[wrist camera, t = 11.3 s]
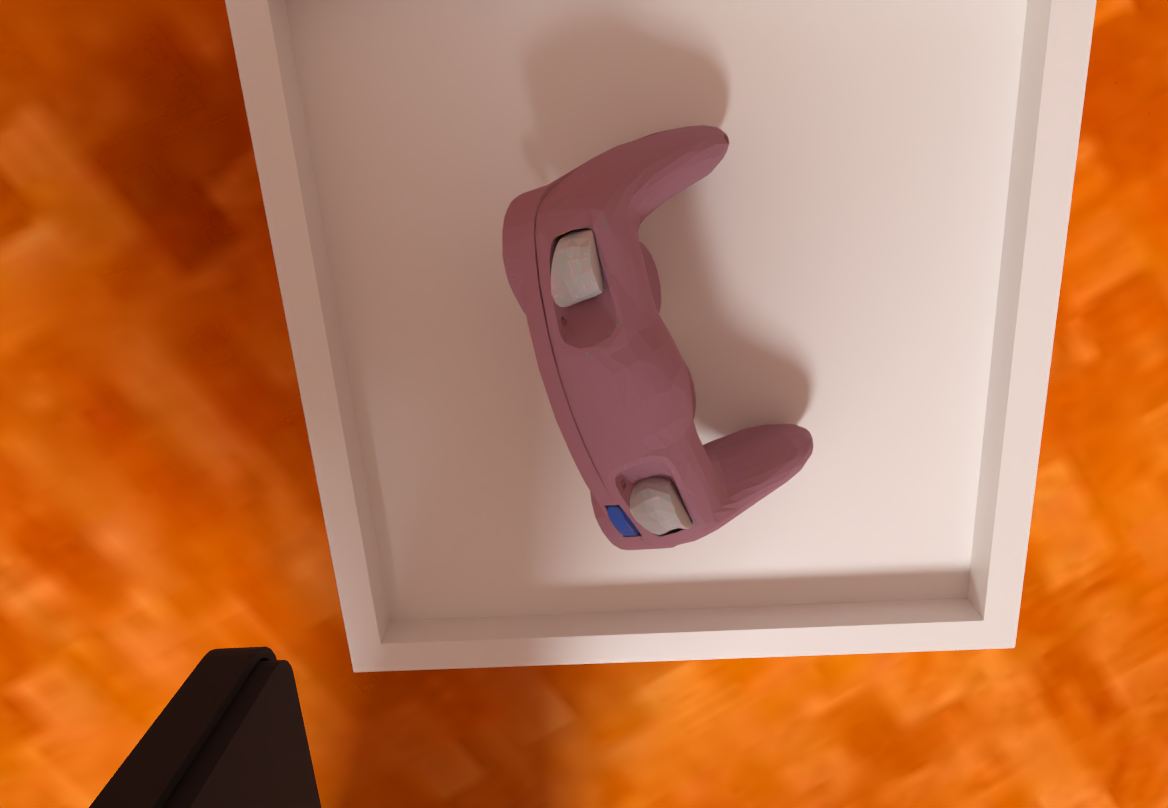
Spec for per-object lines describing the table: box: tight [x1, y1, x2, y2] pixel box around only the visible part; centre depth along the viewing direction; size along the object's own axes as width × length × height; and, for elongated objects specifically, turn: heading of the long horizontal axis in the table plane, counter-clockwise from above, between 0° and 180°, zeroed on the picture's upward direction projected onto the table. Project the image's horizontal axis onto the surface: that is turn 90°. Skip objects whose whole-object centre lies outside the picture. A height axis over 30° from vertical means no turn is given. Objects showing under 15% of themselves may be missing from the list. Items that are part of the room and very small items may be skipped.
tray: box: [225, 0, 1096, 672], centre depth 23 cm, size 20×20×2 cm
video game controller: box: [502, 125, 813, 550], centre depth 20 cm, size 10×5×7 cm, turn 19°
